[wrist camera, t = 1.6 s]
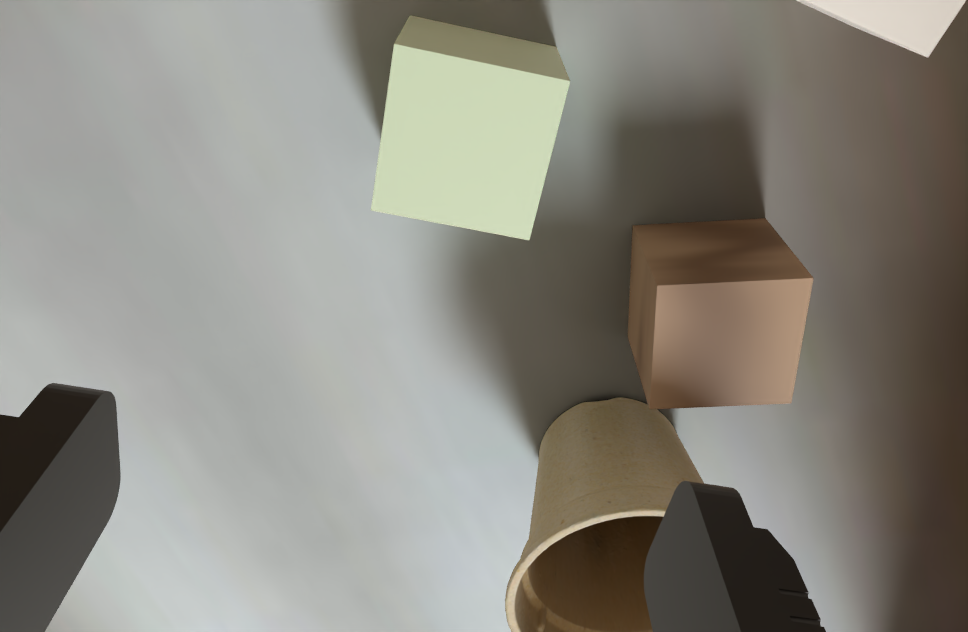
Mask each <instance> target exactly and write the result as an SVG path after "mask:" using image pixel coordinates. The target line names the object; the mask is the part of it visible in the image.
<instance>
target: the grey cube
mask: <svg viewBox="0 0 968 632" xmlns="http://www.w3.org/2000/svg"><path fill="white" fill-rule="evenodd" d="M796 1H799V2H801V3H803V4H805V5H807V6H809V7H811V8H814V9H816V10H818V11H820V12H822V13H824V14H827V15H829V16H831V17H833V18H835V19H837V20H840V21H842V22H844V23H846V24H848V25H850V26H852V27H855V28H857V29H860V30H862V31H864V32H867V33H869V34H872V35H874V36H877V37H879V38H881V39H884V40H886V41H889V42H891V43H894V44H896V45H898V46H901V47H903V48H906V49H908V50H911V51H913V52H915V53H918V54H920V55H923V56H925V57H929V55H930V54H931V52H932V51H933V49H934V48H935V46H936V45H937V43H938V42H939V40H940V39H941V37H942V36H943V34H944V33H945V31H946V30H947V28H948V27H949V25H950V24H951V22H952V21H953V19H954V18H955V16H956V15H957V13H958V12H959V10H960V9H961V7H962V6H963V4H964V3H965V1H966V0H796Z"/></svg>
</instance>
